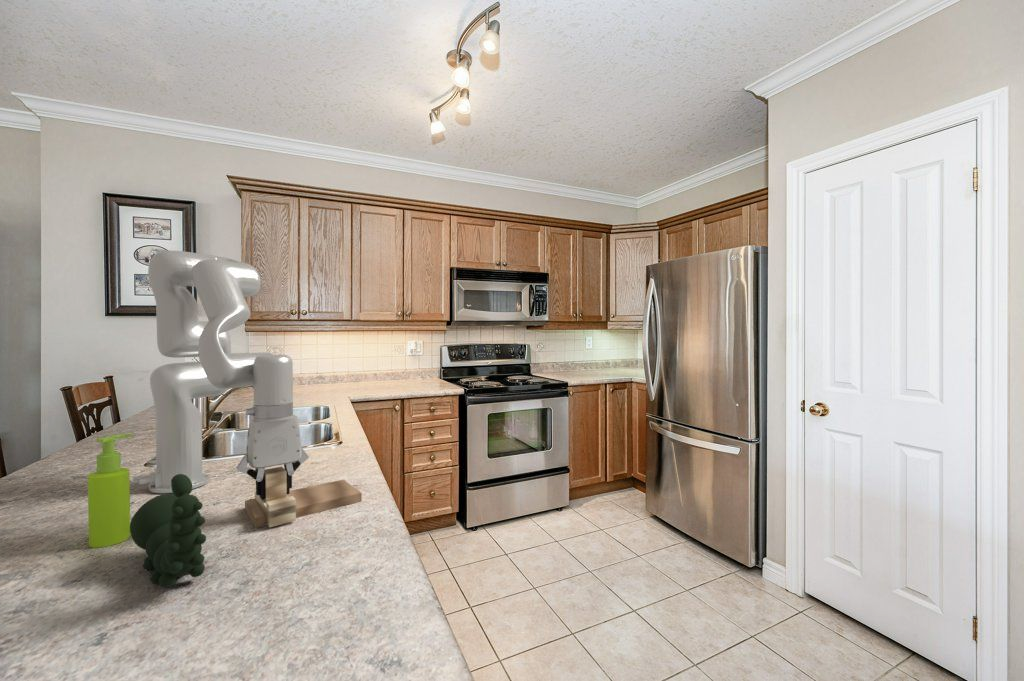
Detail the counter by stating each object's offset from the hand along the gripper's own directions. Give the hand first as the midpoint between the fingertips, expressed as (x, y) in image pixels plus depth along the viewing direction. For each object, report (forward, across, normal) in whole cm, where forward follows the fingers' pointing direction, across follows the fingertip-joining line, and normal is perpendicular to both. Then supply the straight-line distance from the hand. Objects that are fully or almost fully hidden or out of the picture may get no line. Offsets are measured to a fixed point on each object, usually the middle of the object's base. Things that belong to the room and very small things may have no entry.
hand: (274, 494), depth 96 cm
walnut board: (+5, +7, +2) cm, 8 cm away
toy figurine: (+5, -18, -12) cm, 23 cm away
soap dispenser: (+5, -26, +8) cm, 28 cm away
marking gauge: (+4, 0, 0) cm, 4 cm away
